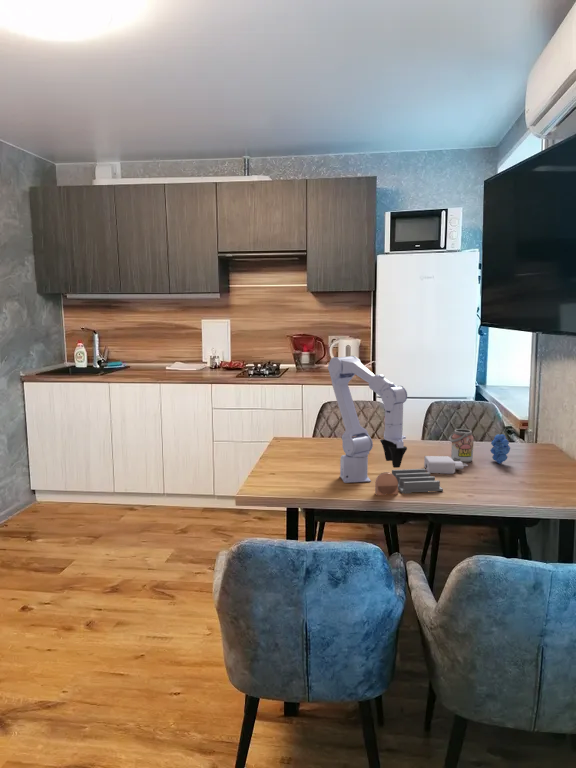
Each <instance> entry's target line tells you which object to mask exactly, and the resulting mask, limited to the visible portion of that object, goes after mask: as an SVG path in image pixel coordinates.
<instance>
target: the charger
mask: <svg viewBox="0 0 576 768" xmlns="http://www.w3.org/2000/svg"><path fill="white" fill-rule="evenodd" d="M423 464H424V465H423V466H424V469H425V468H426V473H427V472H429V473H430V474H431V473H440V474H441V475H442V474H445V475H446V474H447V475H448V474H449V475H453V474H455V473H456V470H463V469H464V467H469V464H467V463H462V462H461V461H454V460H453V459H452V458H451V456H448V455H446V456H445V455H441V456H440V455H437V456H436V455H424V463H423ZM440 474H439V475H440Z"/></svg>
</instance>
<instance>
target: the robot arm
mask: <svg viewBox="0 0 576 768" xmlns="http://www.w3.org/2000/svg"><path fill="white" fill-rule="evenodd" d="M327 370H328V372H329V376H330V380H331V385H332V389H333V392H334V395H335V399H336V402H337V406H338V408H339V413H340V414H341V419H342V421H343V426H344V429H345V430H344V432H343V433H342V435H341V440H342V441H341V442H342V450H343V452H344V454H342V455H341V456H340V459H339V461H340V463H339V464H340V468H339V469H340V470H339V471H340V473H339V477H340V478H341V480H342V482H343V483H345V484H347V483H350V484H351V483H369V482H372V480H371V479H370V477H369V476H368V473H369V472H368V471H369V469H368V465H369V463H368V462H369V461H368V460H369V459H368V458H369V457H368V456H369V455H370V452H371V450H373V447H374V444H373V439H372V438H371V436H370V435H369V433H368V430H367V429H366V428H365V427H363V426H362V425H361V423H360V420H359V417H358V414H357V410H356V407H355V403H354V400H353V396H352V394H351V390H350V387H349V383H350V381H351V380H353V378H354V377H355V375H356V376H357V377H358V378H360V379H362V380H363V381H365V382H366V383H368V387H369V389H370V390H372V391H373V392H374V393H375V394H377V395H378V396H379V397H381V402H383V409H384V432H383V439H380V440H379V441H380V444H381V445H382V448H383V452H384V458H385V461H386V462H391V463H392V464H391V465H392V468H394V469H395V468H397V469H398V468H401V466H402V465H401V464H402V461H403V459H404V455H405V453H406V451H407V450H408V448H407V446H406V445H404V444H405V443H404V440H406V439H407V436H406V435H403V426H404V423H403V422H404V403H405V402H406V401H407V400H408V392H407V390H406V388H405V387H404V386H402V385H395V383H394V382H392V381H389V379H387V378H386V377H385V375H384V374H374V373H373V372H372V371H371V370H370V369H369V368H368V367H366V366H365V365H364V364H363V363H362V362H361V359H360V358H358V357H357V356H355V355H350V356H340V357H339V356H338V357H337V356H336V357H335V356H334V357H331V359H330V361H329V362H328V366H327Z"/></svg>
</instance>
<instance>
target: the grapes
mask: <svg viewBox="0 0 576 768" xmlns="http://www.w3.org/2000/svg"><path fill="white" fill-rule="evenodd" d="M506 438H507V436H506V435H505V434H503V433H501V434H499V433H498V434H495V436H494V437H493V440H491V443H490V445H491V446H492V447H491V448H490V453H491V454H492V457H491V458H492V460H493V461H495V462H496V463H497V464H499V465H501V464H502V463H503V462H505V461H507V459H508V454H509V453H510V450H511V447H510V445H509V443H510V442H509V440H508V439H506Z"/></svg>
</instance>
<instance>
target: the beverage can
mask: <svg viewBox="0 0 576 768" xmlns="http://www.w3.org/2000/svg"><path fill="white" fill-rule="evenodd" d="M448 440H449V442H451V450H450V451H451V454H450V457H451V458H452V459H453V460H454V461H461V462H462V463H463V464H467V463H471V462H472V461H473V459H474V443H475V442H474V440H475V438H474V436H473V432H472V430H470V429H465V428H457V429H454V431H453V433H452V434H450V435H449V437H448Z"/></svg>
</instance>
